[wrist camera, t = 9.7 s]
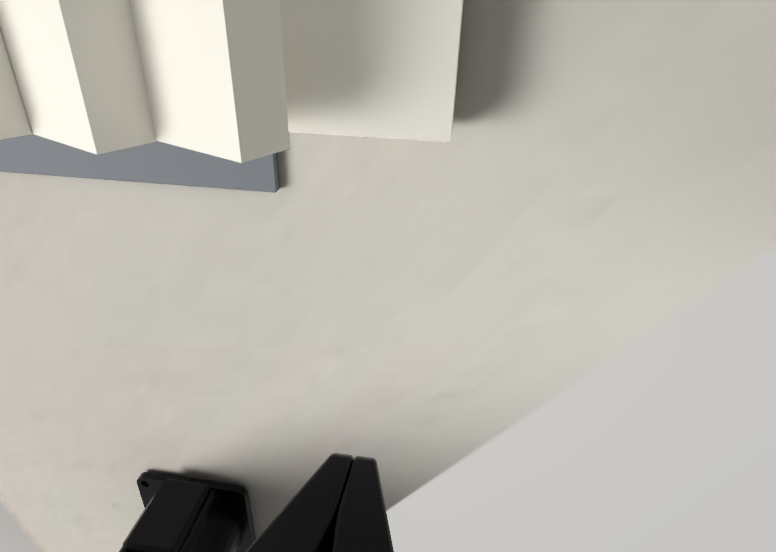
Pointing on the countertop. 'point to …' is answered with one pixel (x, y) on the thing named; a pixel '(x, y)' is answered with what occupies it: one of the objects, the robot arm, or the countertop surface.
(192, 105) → the domino
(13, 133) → the domino
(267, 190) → the slate mat
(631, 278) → the countertop surface
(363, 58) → the domino
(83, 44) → the domino
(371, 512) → the robot arm
